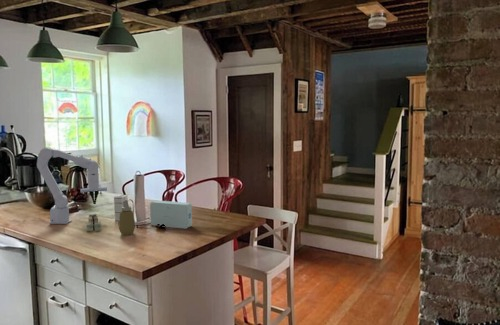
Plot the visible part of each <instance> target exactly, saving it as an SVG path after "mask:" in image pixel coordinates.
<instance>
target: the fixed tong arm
mask: <svg viewBox="0 0 500 325" xmlns="http://www.w3.org/2000/svg"><path fill="white" fill-rule="evenodd" d="M88 217H92V220H93V229H94V232H98V231H102V222H101V221H99V218H98V214H96V213H92V214H88Z"/></svg>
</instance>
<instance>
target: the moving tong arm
mask: <svg viewBox="0 0 500 325" xmlns="http://www.w3.org/2000/svg"><path fill="white" fill-rule="evenodd" d="M93 231H94V222H93V220H92V217H89V216H88V222H86V232H93Z"/></svg>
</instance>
